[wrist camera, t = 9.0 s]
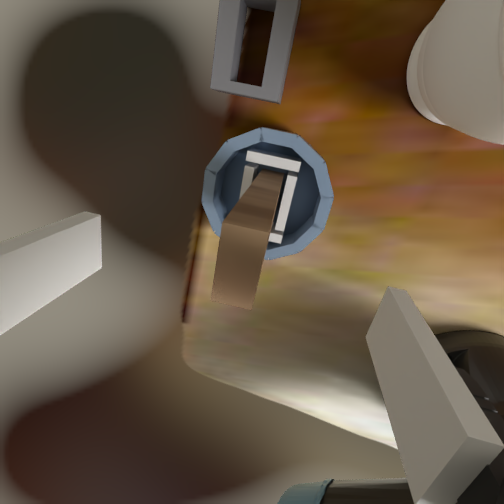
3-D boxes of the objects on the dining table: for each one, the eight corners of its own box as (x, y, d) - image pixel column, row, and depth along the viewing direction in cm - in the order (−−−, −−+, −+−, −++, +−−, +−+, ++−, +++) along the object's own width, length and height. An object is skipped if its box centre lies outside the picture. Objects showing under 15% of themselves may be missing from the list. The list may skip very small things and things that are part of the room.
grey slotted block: (280, 104, 25) (277, 102, 23) (218, 91, 26) (210, 88, 23) (300, 3, 22) (300, -11, 20) (230, -9, 23) (222, -24, 20)
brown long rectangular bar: (274, 214, 28) (251, 310, 14) (254, 209, 28) (210, 300, 14) (284, 173, 26) (268, 232, 12) (262, 168, 27) (222, 222, 12)
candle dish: (310, 253, 30) (310, 270, 27) (209, 229, 31) (196, 242, 27) (343, 143, 26) (350, 145, 22) (223, 117, 26) (211, 116, 23)
